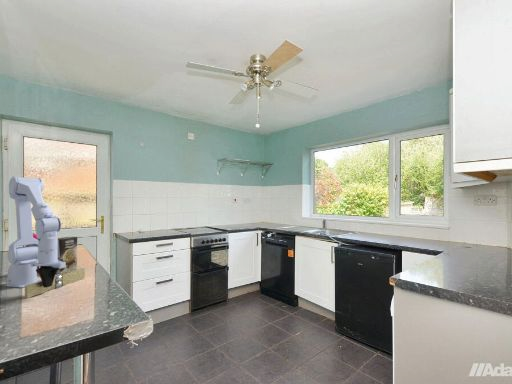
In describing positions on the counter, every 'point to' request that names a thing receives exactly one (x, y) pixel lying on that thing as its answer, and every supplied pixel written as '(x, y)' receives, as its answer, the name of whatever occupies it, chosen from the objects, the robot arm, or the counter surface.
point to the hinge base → (71, 277)
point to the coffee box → (67, 253)
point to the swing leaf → (40, 287)
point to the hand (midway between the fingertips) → (47, 286)
